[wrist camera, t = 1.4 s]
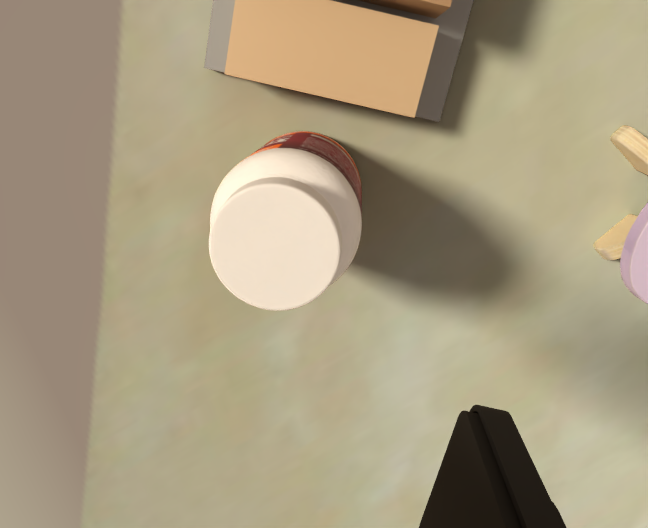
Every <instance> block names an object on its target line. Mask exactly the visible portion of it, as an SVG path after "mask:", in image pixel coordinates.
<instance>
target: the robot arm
mask: <svg viewBox="0 0 648 528" xmlns="http://www.w3.org/2000/svg"><path fill="white" fill-rule="evenodd" d="M419 528H566V526H565V524H564V522H563V519H562V517H561V515H560V513H559V511H558V509H557V508H556V506H555V505H554V503H553V502H552V501H551V499H550V497H549V495H548V493H547V491H546V489H545V487H544V485H543V482H542V480H541V478H540V476H539V474H538V472H537V470H536V468H535V466H534V463H533V461H532V459H531V457H530V455H529V453H528V451H527V449H526V447H525V444H524V442H523V440H522V438H521V436H520V434H519V432H518V430H517V428H516V425H515V423H514V421H513V419H512V417H511V415H510V414H509V412H507V411H503V410H499V409H494V408H489V407H485V406H480V405H474V406H473V407H472V408H471V410H470V412H468V411H462V412H461V413H460V414H459V417H458V419H457V422H456V425H455V427H454V430H453V433H452V436H451V439H450V441H449V444H448V447H447V450H446V453H445V455H444V458H443V461H442V464H441V467H440V469H439V472H438V475H437V478H436V481H435V483H434V486H433V489H432V492H431V495H430V497H429V500H428V503H427V506H426V509H425V511H424V514H423V517H422V520H421V523H420V526H419Z"/></svg>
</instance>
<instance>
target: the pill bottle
mask: <svg viewBox="0 0 648 528" xmlns="http://www.w3.org/2000/svg"><path fill="white" fill-rule="evenodd" d="M361 194H362V190H361V180H360V176H359V172H358V170H357V167H356V165H355V163H354V161H353V159H352V158H351V156H350V155H349V153H348V152H347V151H346V150H345V149H344V148H343V147H342V146H341V145H340V144H338V143H337V142H336V141H334V140H333V139H331V138H329V137H327V136H325V135H322V134H319V133H315V132H309V131H296V132H290V133H286V134H283V135H281V136H279V137H276V138H274V139H273V140H271V141H269V142H268V143H267V144H265V145H264V146H263V147H261V148H260V149H259V150H257V151H256V152H254V153H253V154H251V155H250V156H248V157H247V158H245V159H244V160H243V161H241V162H240V163H239V164H237V165H236V166H235V167H234V168H233V169H232V170H231V171H230V172H229V173H228V174H227V175H226V176H225V178H224V179H223V181H222V182H221V184H220V186H219V187H218V189H217V191H216V194H215V196H214V200H213V203H212V208H211V215H210V236H209V252H210V258H211V261H212V265H213V267H214V269H215V272H216V274H217V276H218V277H219V279H220V280H221V282H222V283H223V284H224V286H225V287H226V288H227V289H228V290H229V291H230V292H231V293H232V294H234V295H235V296H236V297H237V298H239V299H241V300H242V301H244V302H246V303H248V304H250V305H253V306H255V307H258V308H262V309H267V310H290V309H294V308H298V307H301V306H303V305H305V304H308V303H310V302H312V301H313V300H314V299H316V298H317V297H319V296H320V295H321V294H322V293H323V292H324V291H325V290H326V289H327V287H328V286H330V285H331V284H333V283H334V282H335V281H337V280H338V279H339V278H340V277H341V276H342V275H343V273H344V272H345V271H346V270H347V268H348V267H349V266H350V264H351V262H352V261H353V259H354V257H355V255H356V252H357V249H358V246H359V242H360V238H361V231H362V195H361Z"/></svg>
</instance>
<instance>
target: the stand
mask: <svg viewBox="0 0 648 528" xmlns="http://www.w3.org/2000/svg"><path fill="white" fill-rule="evenodd" d="M473 1H474V0H213V5H212V13H211V21H210V28H209V36H208V43H207V51H206V58H205V66H204V68H207V69H211V70H216V71H220V72H224V73H225V74H226V75H231V76H235V77H239V78H244V79H248V80H252V81H257V82H261V83H265V84H270V85H274V86H278V87H283V88H287V89H291V90H296V91H300V92H304V93H309V94H313V95H317V96H322V97H326V98H330V99H335V100H339V101H343V102H348V103H352V104H356V105H361V106H365V107H369V108H374V109H378V110H382V111H387V112H391V113H395V114H400V115H404V116H408V117H413V118H415V117H420V118H424V119H428V120H433V121H437V122H440V118H441V114H442V111H443V107H444V104H445V100H446V97H447V93H448V90H449V86H450V83H451V79H452V76H453V72H454V68H455V65H456V61H457V58H458V54H459V51H460V47H461V44H462V40H463V37H464V33H465V30H466V26H467V22H468V19H469V15H470V12H471V8H472V5H473Z"/></svg>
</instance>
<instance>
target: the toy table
mask: <svg viewBox="0 0 648 528" xmlns="http://www.w3.org/2000/svg"><path fill="white" fill-rule="evenodd" d="M611 141H612V143H613V144H614V145H615V146H616V147H617V148H618V149H619V150H620V152H621V153H622V154H623V155H624V156H625V157H626V159H627V160H628V161H629V162H630V163H631V164H632V166H633V167H634V168H635V169H636V170H638V171H640V172H642V173H644V174H646V175H648V139H647V138H646V137H645V136H643V135H642V134H641V133H639V132H638V131H637V130H635V129H634V128H632V127H630V126H626V125H624V126H622V127H620V128H619V129H618V130H617V131H616V132H614V133H613V134H612V136H611ZM593 246H594V248H595V249H596V251H597V252H598V253H599V254H600V255H601V256H602V258H603V259H606V260H616V259H619V258H621V260H620V268H621V276H622V280H623V282H624V284H625V285H626V287H627V288H628V289H629V290H630V292H632V293H633V294H634V295H635V296H636V297H638V298H639V299H641V300H642V301H644V302H645V303H647V304H648V203H647V204H646V205H645V207H644V208H643V209H642V211H641V212H640V214H639V215H638V216H636V215H632V214H629V215H627V216H626V217H625V218H624V219H622V220H621V221H620V222H619V223H617V224H616V225H615V226H614V227H613V228H611V229H610V230H609V231H608V232H606V233H605V234H604V235H603V236H602V237H600V238H599V239H598V240H597V241H596V242H595V243H594V245H593Z"/></svg>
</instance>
